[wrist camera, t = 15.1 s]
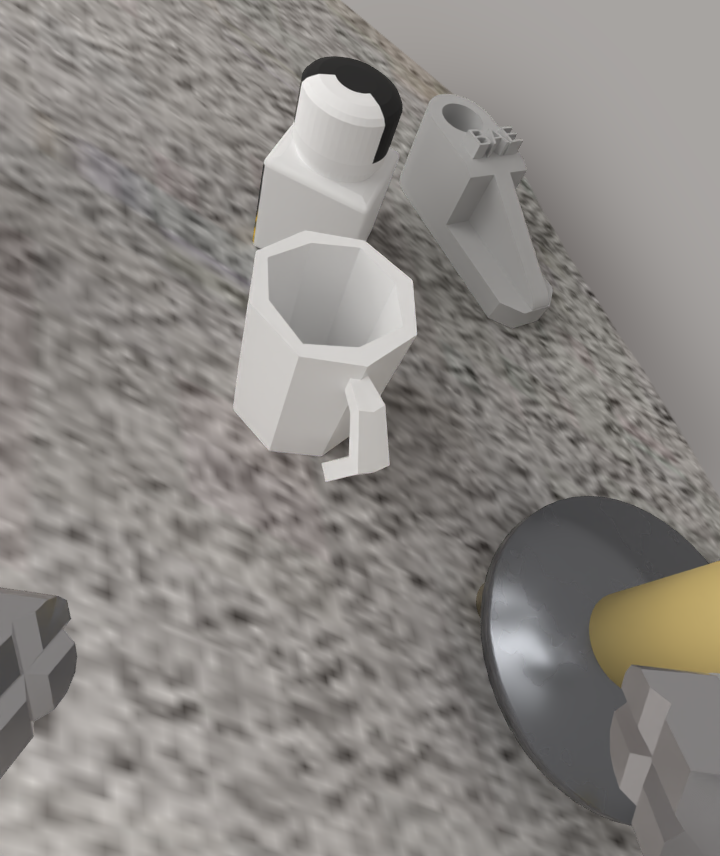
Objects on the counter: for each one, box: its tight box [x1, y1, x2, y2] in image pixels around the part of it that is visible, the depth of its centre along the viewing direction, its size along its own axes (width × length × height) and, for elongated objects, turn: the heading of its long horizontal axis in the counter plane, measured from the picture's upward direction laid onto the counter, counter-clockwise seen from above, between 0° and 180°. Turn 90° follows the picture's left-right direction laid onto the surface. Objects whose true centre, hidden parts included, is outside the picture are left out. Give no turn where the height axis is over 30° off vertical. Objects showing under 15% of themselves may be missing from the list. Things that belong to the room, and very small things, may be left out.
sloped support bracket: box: [399, 94, 553, 328], centre depth 43 cm, size 6×18×8 cm, turn 28°
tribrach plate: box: [476, 496, 709, 826], centre depth 30 cm, size 16×16×4 cm
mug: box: [233, 230, 417, 482], centre depth 30 cm, size 12×9×10 cm
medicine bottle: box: [253, 56, 402, 249], centre depth 36 cm, size 7×7×12 cm
